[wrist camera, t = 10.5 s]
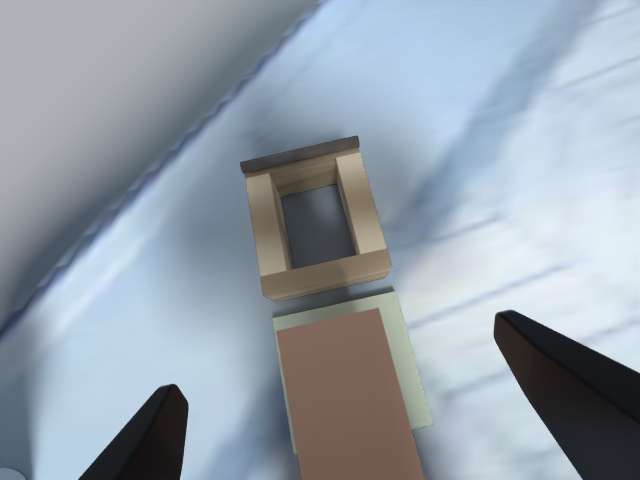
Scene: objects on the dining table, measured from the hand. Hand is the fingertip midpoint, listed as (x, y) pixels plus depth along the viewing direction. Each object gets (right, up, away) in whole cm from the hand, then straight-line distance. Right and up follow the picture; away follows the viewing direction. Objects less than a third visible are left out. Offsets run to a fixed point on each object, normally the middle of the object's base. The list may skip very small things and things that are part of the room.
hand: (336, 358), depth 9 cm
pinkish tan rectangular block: (+1, -4, +10) cm, 11 cm away
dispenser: (-1, +4, +13) cm, 14 cm away
